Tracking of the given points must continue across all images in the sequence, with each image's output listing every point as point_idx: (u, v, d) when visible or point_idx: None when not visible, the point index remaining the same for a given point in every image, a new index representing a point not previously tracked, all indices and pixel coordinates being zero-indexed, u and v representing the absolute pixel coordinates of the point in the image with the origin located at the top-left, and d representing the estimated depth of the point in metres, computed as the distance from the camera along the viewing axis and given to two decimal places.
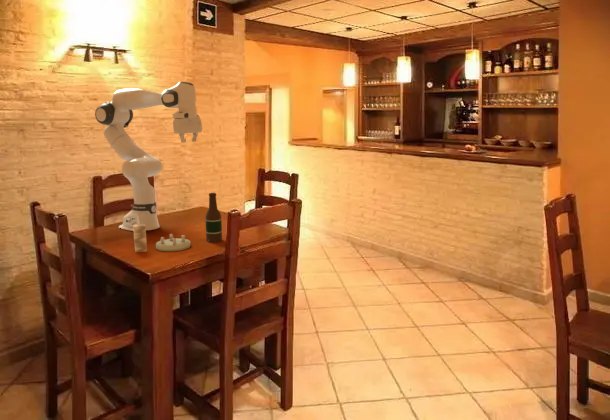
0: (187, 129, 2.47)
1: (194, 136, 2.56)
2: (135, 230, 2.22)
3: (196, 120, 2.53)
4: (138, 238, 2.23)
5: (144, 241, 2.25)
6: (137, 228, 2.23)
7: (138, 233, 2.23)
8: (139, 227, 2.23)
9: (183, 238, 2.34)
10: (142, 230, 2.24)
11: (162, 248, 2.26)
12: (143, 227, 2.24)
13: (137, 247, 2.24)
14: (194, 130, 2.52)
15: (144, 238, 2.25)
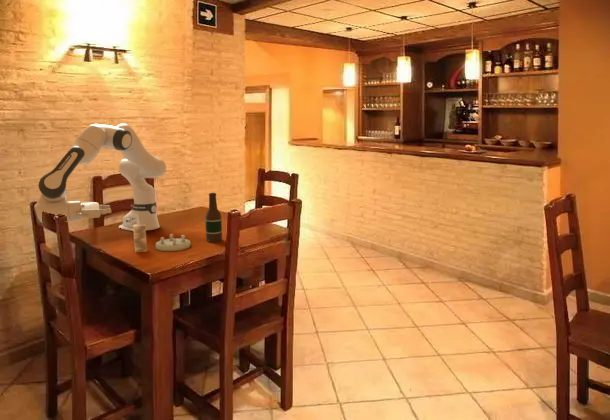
0: None
1: None
2: (135, 230, 2.22)
3: None
4: (138, 238, 2.23)
5: (144, 241, 2.25)
6: (137, 228, 2.23)
7: (138, 233, 2.23)
8: (139, 227, 2.23)
9: (183, 238, 2.34)
10: (142, 230, 2.24)
11: (162, 248, 2.26)
12: (143, 227, 2.24)
13: (137, 247, 2.24)
14: None
15: (144, 238, 2.25)
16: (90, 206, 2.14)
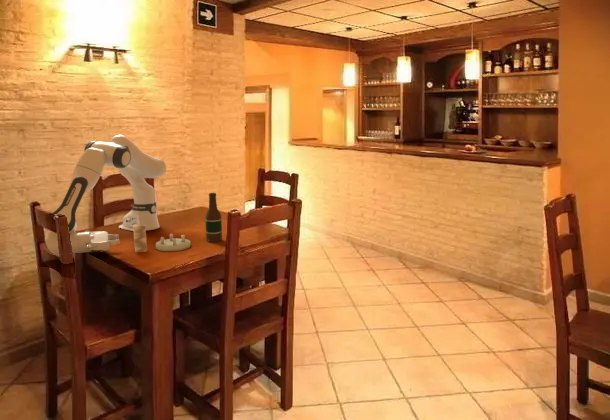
0: None
1: None
2: (135, 230, 2.22)
3: None
4: (138, 238, 2.23)
5: (144, 241, 2.25)
6: (137, 228, 2.23)
7: (138, 233, 2.23)
8: (139, 227, 2.23)
9: (183, 238, 2.34)
10: (142, 230, 2.24)
11: (162, 248, 2.26)
12: (143, 227, 2.24)
13: (137, 247, 2.24)
14: None
15: (144, 238, 2.25)
16: (99, 237, 2.19)
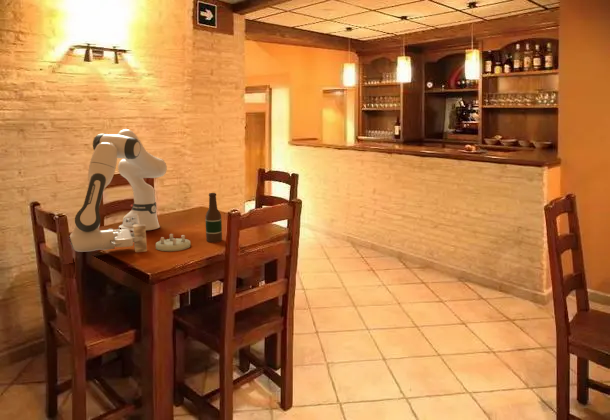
0: None
1: None
2: (135, 230, 2.22)
3: None
4: None
5: (144, 241, 2.25)
6: (137, 228, 2.23)
7: (138, 233, 2.23)
8: (139, 227, 2.23)
9: (183, 238, 2.34)
10: (142, 230, 2.24)
11: (162, 248, 2.26)
12: (143, 227, 2.24)
13: (137, 247, 2.24)
14: None
15: (144, 238, 2.25)
16: (122, 234, 2.22)
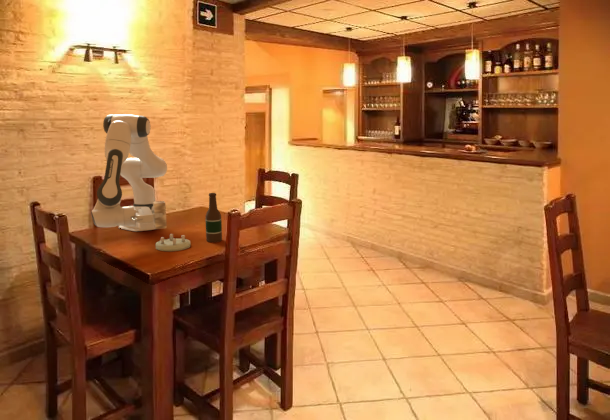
0: None
1: None
2: (155, 207, 2.25)
3: None
4: None
5: (164, 218, 2.27)
6: (157, 205, 2.25)
7: (158, 210, 2.25)
8: (159, 204, 2.25)
9: (183, 238, 2.34)
10: (162, 207, 2.26)
11: (162, 248, 2.26)
12: (163, 204, 2.26)
13: (157, 224, 2.26)
14: None
15: (164, 215, 2.27)
16: (143, 211, 2.24)
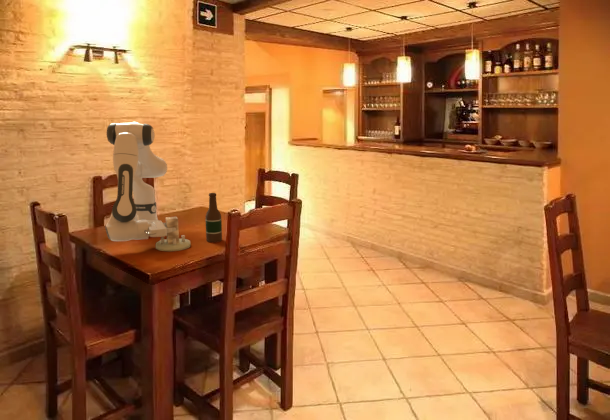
0: None
1: None
2: (168, 222, 2.28)
3: None
4: None
5: (176, 233, 2.31)
6: (170, 221, 2.29)
7: (171, 226, 2.29)
8: (172, 220, 2.29)
9: (183, 238, 2.34)
10: (175, 222, 2.30)
11: (162, 248, 2.26)
12: (176, 220, 2.30)
13: (170, 239, 2.30)
14: None
15: (176, 230, 2.31)
16: (156, 225, 2.28)
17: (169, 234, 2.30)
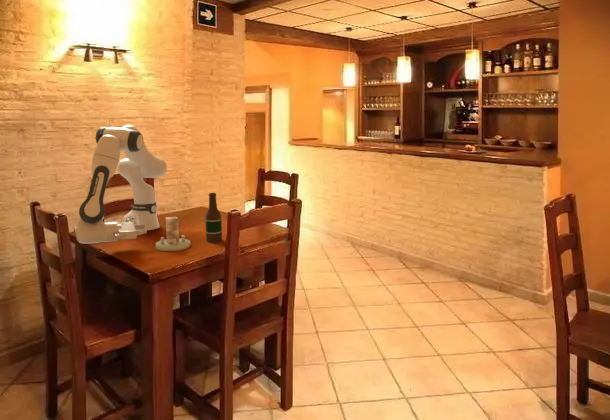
0: None
1: None
2: (168, 222, 2.28)
3: None
4: (170, 230, 2.30)
5: (176, 233, 2.31)
6: (170, 221, 2.29)
7: (171, 226, 2.29)
8: (172, 220, 2.29)
9: (183, 238, 2.34)
10: (175, 222, 2.30)
11: (162, 248, 2.26)
12: (176, 220, 2.30)
13: (170, 239, 2.30)
14: None
15: (176, 230, 2.31)
16: (126, 227, 2.23)
17: (169, 234, 2.30)
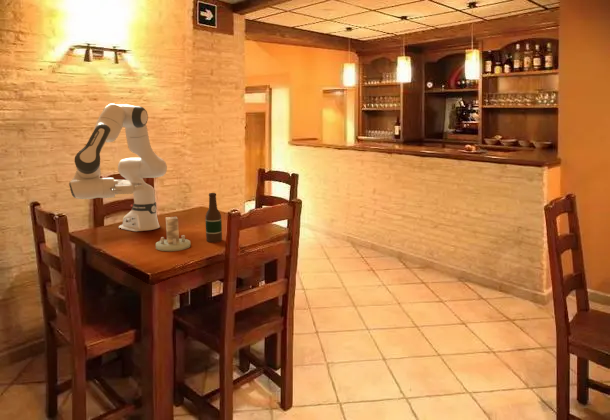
0: None
1: None
2: (168, 222, 2.28)
3: None
4: (171, 230, 2.30)
5: (176, 233, 2.31)
6: (170, 221, 2.29)
7: (171, 226, 2.29)
8: (172, 220, 2.29)
9: (183, 238, 2.34)
10: (175, 222, 2.30)
11: (162, 248, 2.26)
12: (176, 220, 2.30)
13: (170, 239, 2.30)
14: None
15: (176, 230, 2.31)
16: (123, 183, 2.19)
17: (169, 234, 2.30)
